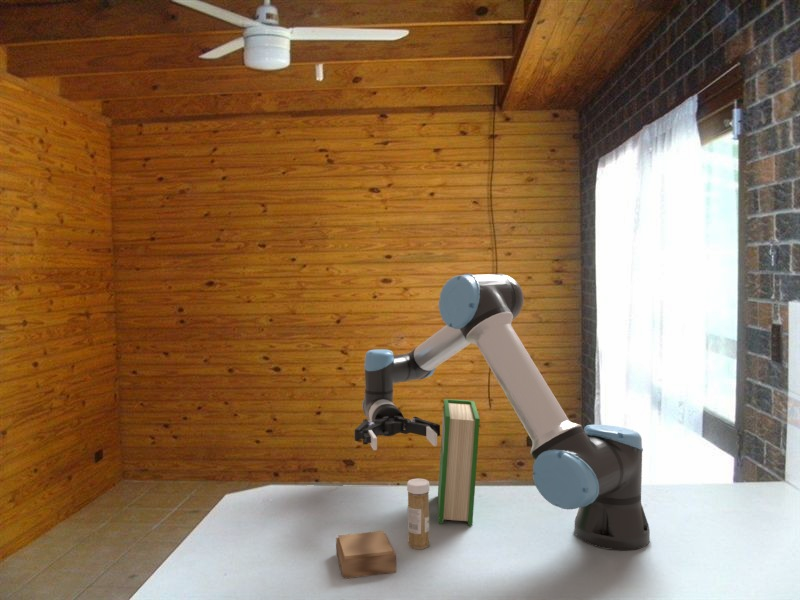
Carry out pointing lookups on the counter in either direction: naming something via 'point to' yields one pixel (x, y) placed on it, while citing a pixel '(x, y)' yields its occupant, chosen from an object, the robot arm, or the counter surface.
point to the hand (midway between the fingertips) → (405, 442)
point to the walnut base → (365, 554)
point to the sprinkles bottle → (418, 513)
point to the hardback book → (458, 460)
